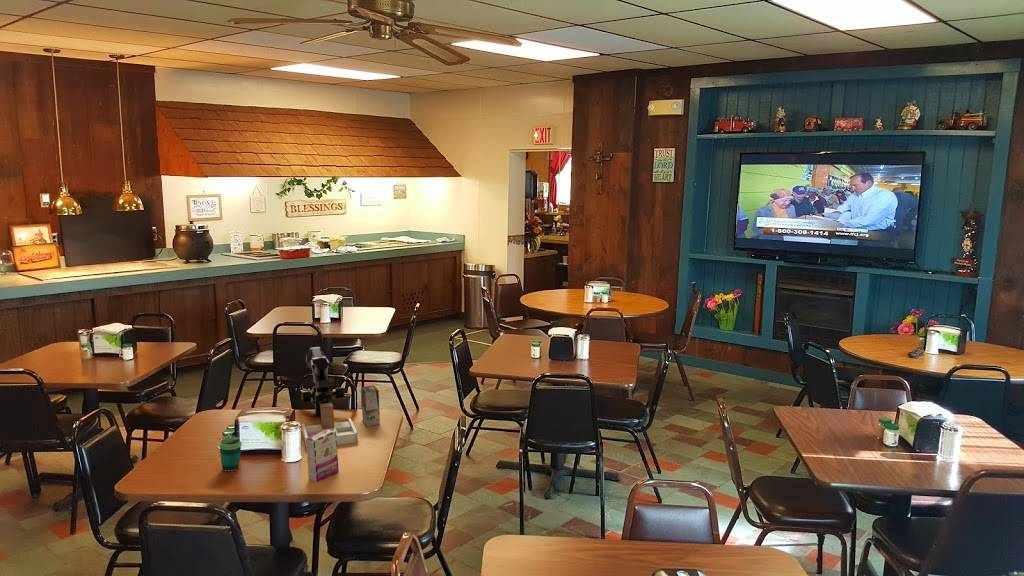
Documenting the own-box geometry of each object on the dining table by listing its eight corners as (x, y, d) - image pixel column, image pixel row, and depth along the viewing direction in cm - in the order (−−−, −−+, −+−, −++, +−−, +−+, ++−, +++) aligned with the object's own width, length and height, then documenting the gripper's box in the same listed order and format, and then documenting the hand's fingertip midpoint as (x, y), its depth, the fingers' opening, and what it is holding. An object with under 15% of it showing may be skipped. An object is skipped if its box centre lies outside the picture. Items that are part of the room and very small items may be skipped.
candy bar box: (329, 469, 279) (327, 428, 276) (339, 471, 276) (336, 430, 274) (307, 479, 269) (305, 437, 267) (317, 482, 267) (314, 440, 264)
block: (321, 425, 320) (320, 404, 318) (332, 424, 322) (331, 402, 320) (322, 429, 315) (321, 407, 314) (334, 428, 317) (333, 406, 315)
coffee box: (380, 424, 328) (379, 390, 326) (366, 426, 326) (365, 392, 323) (375, 418, 337) (374, 385, 334) (361, 420, 334) (360, 386, 331)
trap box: (302, 432, 319) (302, 423, 318) (350, 426, 326) (350, 417, 326) (306, 449, 299) (306, 440, 299) (357, 442, 307) (357, 433, 306)
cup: (238, 463, 285) (235, 434, 283) (247, 469, 280) (245, 439, 278) (217, 469, 280) (215, 440, 278) (226, 475, 274) (224, 445, 272)
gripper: (300, 374, 323) (304, 405, 314) (343, 370, 329) (347, 400, 320) (300, 386, 331) (303, 417, 323) (342, 382, 337) (346, 412, 329)
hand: (325, 411), depth 323 cm, fingers closed
